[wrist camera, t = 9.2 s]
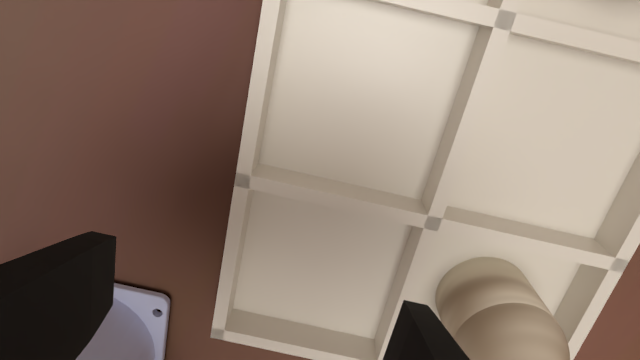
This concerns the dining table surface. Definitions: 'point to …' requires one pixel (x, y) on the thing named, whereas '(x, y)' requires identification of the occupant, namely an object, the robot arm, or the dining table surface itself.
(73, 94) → the dining table surface
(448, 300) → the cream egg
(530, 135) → the white compartment tray
